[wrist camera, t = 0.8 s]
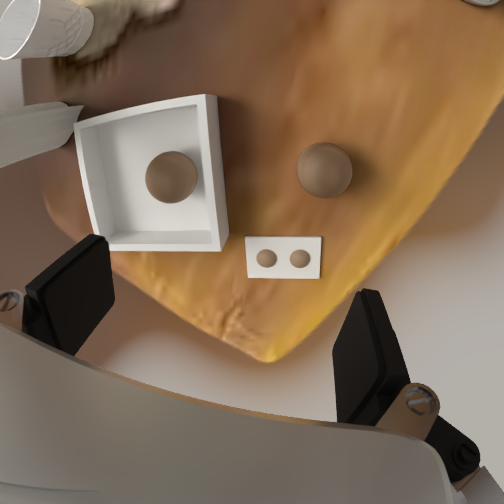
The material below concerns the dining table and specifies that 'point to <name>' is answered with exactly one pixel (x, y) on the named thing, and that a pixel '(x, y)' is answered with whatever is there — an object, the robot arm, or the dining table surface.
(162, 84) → the dining table surface
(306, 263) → the card
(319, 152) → the walnut ball
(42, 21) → the white cup
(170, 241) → the bin
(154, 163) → the ball
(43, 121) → the paper towel roll
